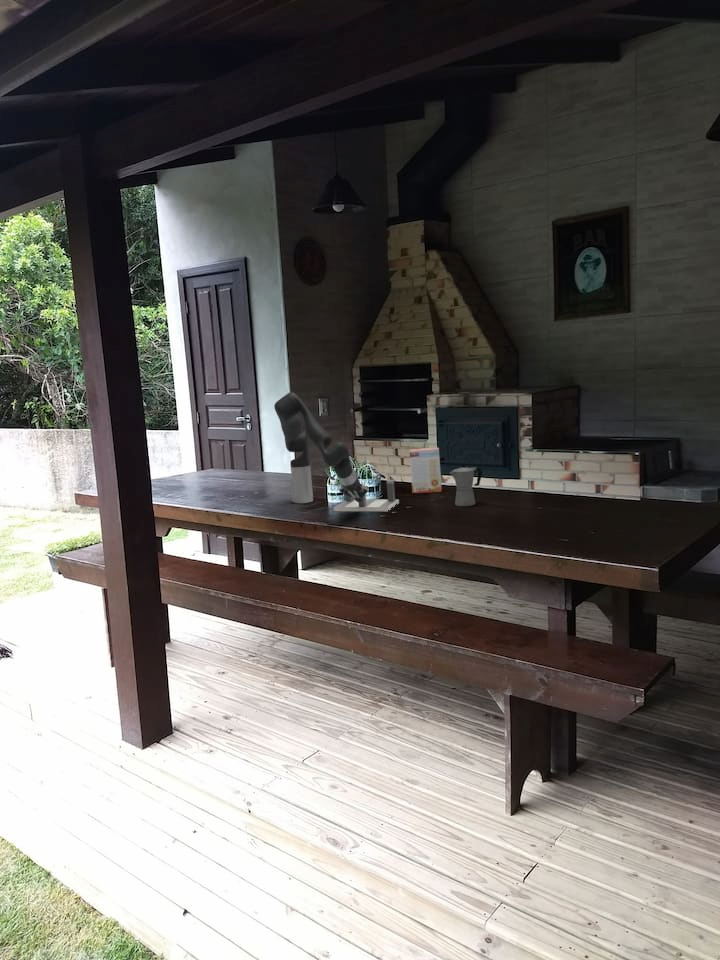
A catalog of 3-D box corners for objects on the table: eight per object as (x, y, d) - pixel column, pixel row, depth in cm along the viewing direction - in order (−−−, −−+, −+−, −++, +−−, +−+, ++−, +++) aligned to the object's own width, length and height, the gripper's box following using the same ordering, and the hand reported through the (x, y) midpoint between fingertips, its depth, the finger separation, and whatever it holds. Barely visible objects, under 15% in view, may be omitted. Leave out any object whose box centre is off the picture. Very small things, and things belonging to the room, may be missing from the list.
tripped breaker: (358, 506, 326) (357, 485, 325) (361, 504, 329) (359, 484, 328) (364, 506, 326) (362, 485, 324) (366, 504, 328) (364, 484, 327)
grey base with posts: (333, 511, 329) (331, 487, 327) (347, 503, 345) (345, 480, 343) (387, 511, 321) (386, 486, 319) (399, 503, 336) (397, 479, 335)
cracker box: (441, 489, 360) (439, 446, 356) (441, 492, 354) (439, 448, 351) (412, 491, 361) (409, 448, 358) (412, 493, 356) (409, 450, 352)
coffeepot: (455, 507, 318) (453, 466, 315) (446, 504, 327) (444, 463, 324) (488, 503, 322) (486, 462, 319) (478, 499, 331) (477, 459, 328)
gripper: (331, 485, 311) (343, 507, 324) (361, 485, 306) (372, 507, 320) (334, 470, 315) (347, 493, 328) (364, 470, 310) (375, 493, 324)
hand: (359, 500), depth 324 cm, fingers closed
